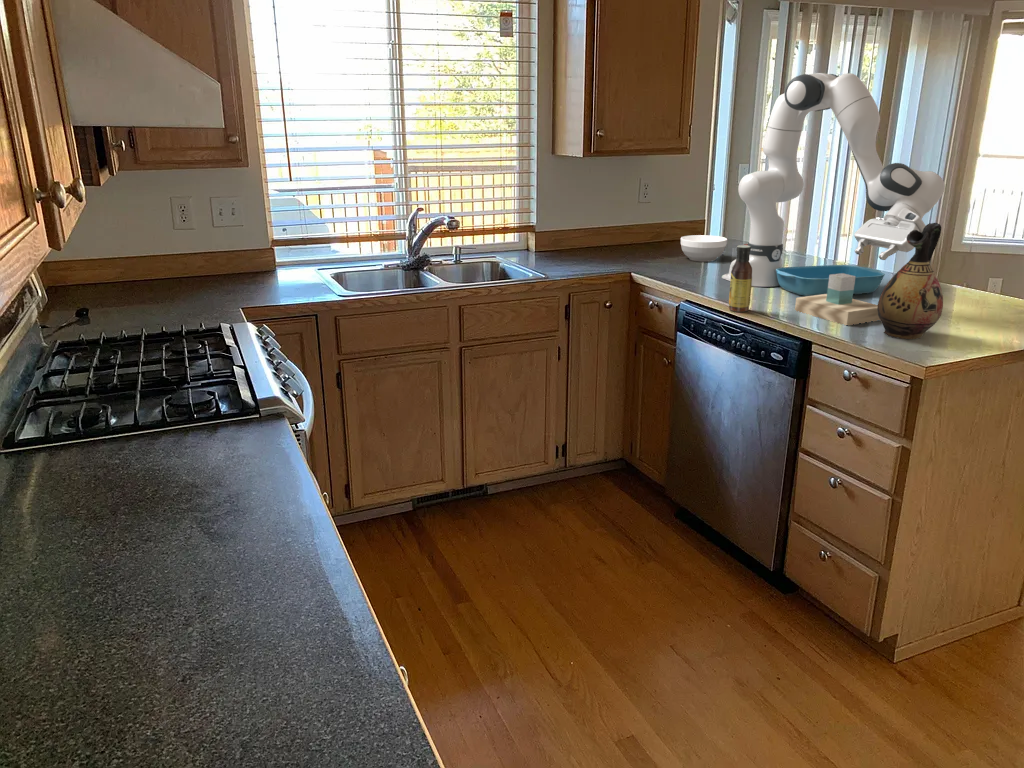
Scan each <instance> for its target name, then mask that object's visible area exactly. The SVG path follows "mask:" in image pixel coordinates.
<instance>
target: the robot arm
mask: <svg viewBox="0 0 1024 768" xmlns="http://www.w3.org/2000/svg"><path fill="white" fill-rule="evenodd" d="M827 110H831V111H832V112H833V114H834V116H835V118H836V120H837V122H838V124H839V126H840V128H841V130H842V132H843V134H844V136H845V138H846V140H847V143H848V145H849V148H850V149H851V153H852V156H853V158H854V161H855V163H856V166H857V168H858V170H859V172H860V175H861V177H862V180H863V182H864V185H865V186H864V187H865V198H866V202H867V204H868V206H870V207H871V208H872V209H874V210H876V211H879V212H886V213H885V214H884V216H883V217H880V216H876V217H874V218H871V219H868V220H867V221H865V222H864V223H863V224H862V225H861V226H860V227H859V228H858V229H857V230H856V231H855V232H854V239H855V240H856V241H857V242H858V243H857V247H856V248H855V250H854V253H855V255H859V256H862V254H863V253H864V252H865V250H864V248H865V247H867V246H868V245H869V246H872V247H873V246H874V247H878V248H884V249H886V250H884V251H881V252H880V253H879V254H878V258H879V259H880V260H882V261H886V260H887V259H888V258H889V257H891V256H893V255H894V254H896V253H897V252H898V251H899V252H905V253H908V252H910V251H913V250H914V249H915V247H913V246H912V245H910V244H909V243H908V241H907V235H908V234H909V233H910V232H911V231H913V230H918V231H919V232H921V233H922V231H923V229H924V227H925V226H926V225H927V224H925V222H924V221H923V217H924V216H925V215H926V214H928V213H929V212H930V211H931V210H932V209H933V208H934V206H935V205H936V204H937V202H939V201H940V199H941V198H942V196H943V195H944V193H945V189H946V184H945V181H944V180H943V178H942V177H941V175H939V174H938V173H936V172H934V171H930V170H925V171H923V170H918V169H914V168H912V167H909V166H908V165H907V164H904V163H901V162H893V163H890V164H888V165H886V166H885V167H884V166H883V163H882V161H881V158H880V156H879V153H878V151H877V145H876V143H877V136H878V131H879V127H880V122H881V116H880V112H879V107H878V105H877V103H876V101H875V100H874V98H873V96H872V94H871V92H870V90H869V89H868V88H867V86H866V85H865V84H864V82H863V81H862V80H861V79H860V78H859V77H858V75H856V74H854V73H852V72H851V73H850V72H849V73H842V74H841V75H837V74H833V73H824V72H816V73H810V74H807V73H804V74H800V75H797V76H795V77H793V78H792V79H790V80H789V82H788V83H787V85H786V87H785V89H784V93H782V94H780V95H779V96H777V98H776V99H775V102H774V105H773V107H772V109H771V113H770V116H769V120H768V122H767V127H766V131H765V136H764V142H763V145H762V152H763V154H764V155H765V156H766V157H767V160H768V169H767V170H757V171H753V172H751V173H747V174H745V175H744V176H743V177H742V178H741V179H740V180H739V184H738V187H737V188H738V189H737V190H738V195H739V197H740V199H741V200H742V202H743V203H745V205H746V207H747V209H748V213H749V219H750V220H749V223H750V226H749V239H748V240H749V241H748V242H747V243H743V244H742V245H748V246H751V250H750V255H749V263H750V265H751V267H752V284H751V287H765V288H767V287H768V288H769V287H780V284H779V282H778V278H777V273H776V269H777V268H782V267H783V266H782V265H783V263H782V255H783V251H784V244H783V238H784V227H785V221H784V219H783V218H782V217H781V216H780V215H779V214H778V210H777V203H786V202H789V201H791V200H794V199H796V198H798V197H799V196H800V195H801V194H802V192H803V190H804V179H803V177H802V174H800V173H799V172H800V171H799V170H798V160H797V159H798V158H797V157H798V150H799V145H800V144H799V143H800V141H801V136H802V131H803V129H804V128H803V127H804V123H805V119H806V117H807V115H808V114H809V113H810V112H821V111H827ZM735 262H736V258H735V259H734V260H732V262H730V265H729V270H728V273H724V274H723V275H722V276H721V279H723V280H725V281H728V282H730V280H731V271H732V268H733V266H734V264H735Z"/></svg>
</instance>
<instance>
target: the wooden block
mask: <svg viewBox="0 0 1024 768" xmlns="http://www.w3.org/2000/svg"><path fill="white" fill-rule="evenodd" d="M826 298H827V294H821V295H814V296H800V297H796V298H795V306H794V311H795V310H796V311H795V312H798V311H799V313H801V312H802V314H805V313H806V314H805V315H808V314H809V316H811V315H812V316H811V317H815V318H818V317H819V318H818V319H821V320H825V319H826V321H829V320H830V322H832V321H833V322H832V323H835V322H837V324H839V323H840V325H842V324H844V325H843V326H846V325H848V326H852V325H853V324H854V325H859V323H861V324H866V323H865V322H867V323H872V322H871V321H873V322H878V321H877V320H880V319H879V316H878V310H877V308H878V304H874V303H870V302H866V301H862V300H859V299H854V298H852V303H848V304H840V305H838V304H834V303H831V302H827V301H826Z"/></svg>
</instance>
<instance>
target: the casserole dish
mask: <svg viewBox="0 0 1024 768" xmlns="http://www.w3.org/2000/svg"><path fill="white" fill-rule="evenodd" d="M776 273H777V278H778V282H779V284H780V285H779V287H781V288H782V289H783V290H785V291H787V292H791V293H793V294H795V295H799V296H801V297H806V296H814V295H821V294H827V290H828V283H829V275H831V274H841V273H844V274H848V275H852V276H856V277H855V284H854V291H853V294H855V295H863V294H862V293H867V294H872V293H873V292H875V291H876V290H877V289H878V288H879V287H880V285H881V282H882V281H883V280H884V277H885V275H886V274H885V273H884V272H882V271H881V270H879V269H876V268H872V267H866V266H860V265H852V264H851V265H850V264H827V265H826V264H825V265H801V266H784V267H783V266H782V268H777V269H776ZM871 292H872V293H871Z"/></svg>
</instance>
